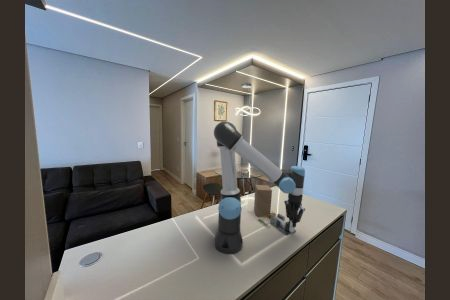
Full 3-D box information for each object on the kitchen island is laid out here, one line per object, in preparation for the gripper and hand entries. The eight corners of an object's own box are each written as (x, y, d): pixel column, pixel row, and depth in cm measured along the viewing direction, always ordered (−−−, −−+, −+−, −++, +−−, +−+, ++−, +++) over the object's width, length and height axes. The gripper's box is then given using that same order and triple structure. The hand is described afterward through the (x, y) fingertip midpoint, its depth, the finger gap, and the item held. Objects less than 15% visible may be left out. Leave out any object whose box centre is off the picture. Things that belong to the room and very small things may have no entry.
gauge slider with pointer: (277, 234, 96) (278, 226, 95) (260, 221, 109) (260, 214, 108) (291, 229, 102) (291, 221, 101) (272, 217, 115) (273, 210, 114)
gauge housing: (279, 238, 95) (280, 229, 94) (256, 220, 112) (257, 213, 111) (295, 231, 101) (296, 223, 101) (271, 216, 119) (272, 209, 118)
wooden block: (270, 217, 117) (272, 190, 114) (255, 216, 117) (257, 189, 114) (266, 210, 127) (268, 185, 124) (253, 209, 127) (255, 184, 124)
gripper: (310, 196, 92) (305, 235, 95) (290, 188, 103) (287, 223, 106) (301, 198, 88) (297, 239, 91) (282, 190, 100) (278, 226, 103)
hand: (291, 231), depth 99 cm, fingers closed
